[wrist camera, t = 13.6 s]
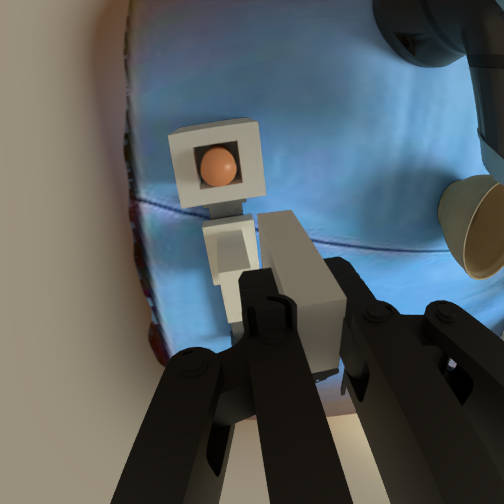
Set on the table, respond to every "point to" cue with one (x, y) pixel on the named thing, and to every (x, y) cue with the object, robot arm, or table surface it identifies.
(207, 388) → the robot arm
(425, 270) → the table surface
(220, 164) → the plunger
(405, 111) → the table surface
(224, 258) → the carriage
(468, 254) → the planter bowl
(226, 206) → the rail
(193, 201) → the housing
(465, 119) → the table surface
